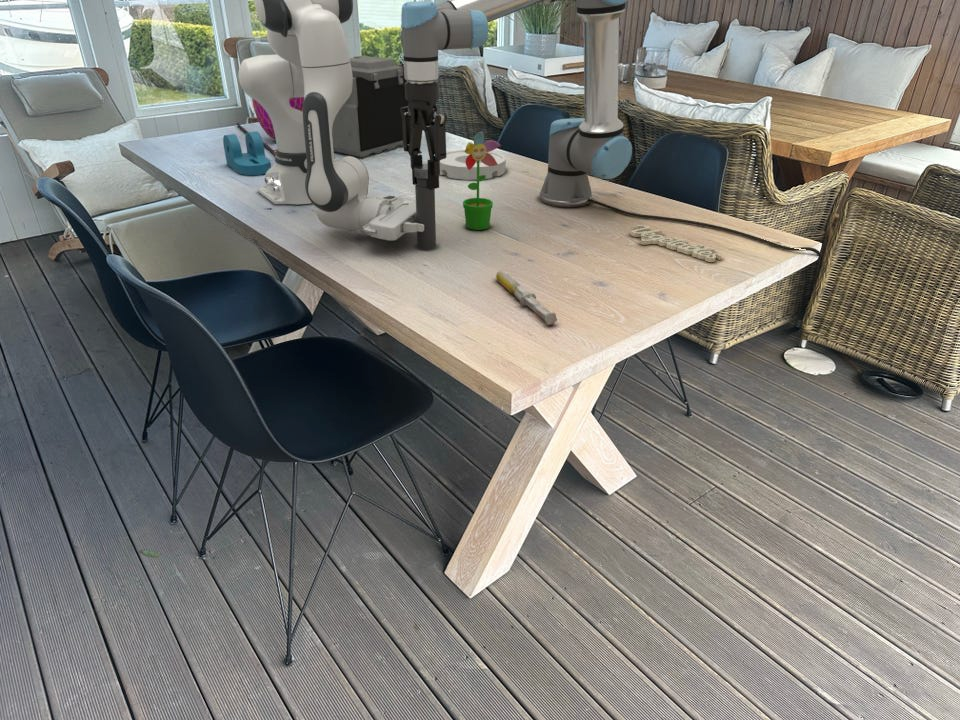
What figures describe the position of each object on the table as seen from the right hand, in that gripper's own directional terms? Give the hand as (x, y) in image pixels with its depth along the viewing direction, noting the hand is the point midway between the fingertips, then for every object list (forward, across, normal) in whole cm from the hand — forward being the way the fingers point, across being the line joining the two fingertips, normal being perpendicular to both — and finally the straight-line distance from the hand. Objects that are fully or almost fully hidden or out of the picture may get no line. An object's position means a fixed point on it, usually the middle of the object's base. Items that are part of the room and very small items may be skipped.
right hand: (425, 185), depth 162 cm
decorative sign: (+16, -41, -44) cm, 63 cm away
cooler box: (+16, +93, -52) cm, 107 cm away
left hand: (+9, -1, 0) cm, 9 cm away
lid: (-4, 0, 0) cm, 4 cm away
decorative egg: (+15, +123, -33) cm, 128 cm away
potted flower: (+15, +2, -19) cm, 24 cm away
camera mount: (+15, +94, -3) cm, 95 cm away
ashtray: (+16, +43, -56) cm, 72 cm away
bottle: (+15, 0, 0) cm, 15 cm away
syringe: (+15, -38, +6) cm, 41 cm away
